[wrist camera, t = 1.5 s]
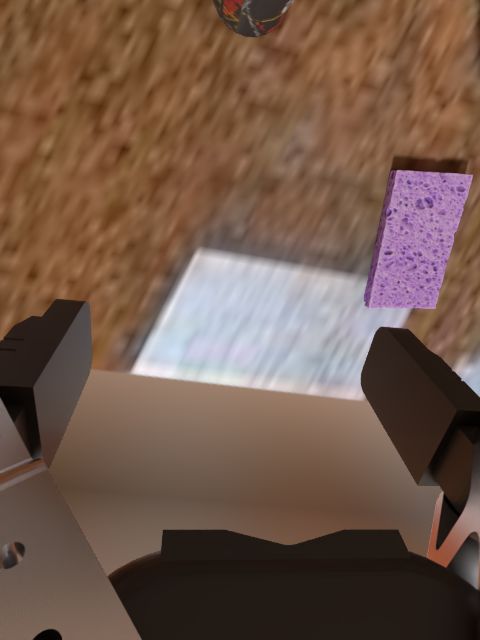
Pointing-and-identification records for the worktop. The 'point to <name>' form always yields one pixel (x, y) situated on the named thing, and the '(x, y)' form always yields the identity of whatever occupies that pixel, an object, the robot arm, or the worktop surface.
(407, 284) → the sponges
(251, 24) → the deodorant
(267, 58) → the worktop surface
